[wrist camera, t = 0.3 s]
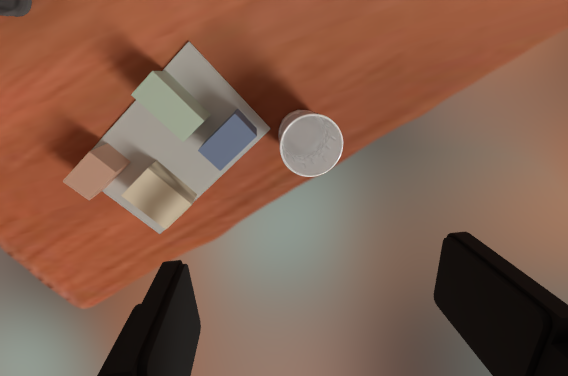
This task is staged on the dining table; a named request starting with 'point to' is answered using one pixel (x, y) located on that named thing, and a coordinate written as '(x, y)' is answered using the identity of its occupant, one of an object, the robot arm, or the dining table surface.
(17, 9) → the beverage cup
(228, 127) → the slate blue block
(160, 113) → the sage block
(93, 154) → the terracotta block
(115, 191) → the felt placemat
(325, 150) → the white cup
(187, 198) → the beech block
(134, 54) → the dining table surface
